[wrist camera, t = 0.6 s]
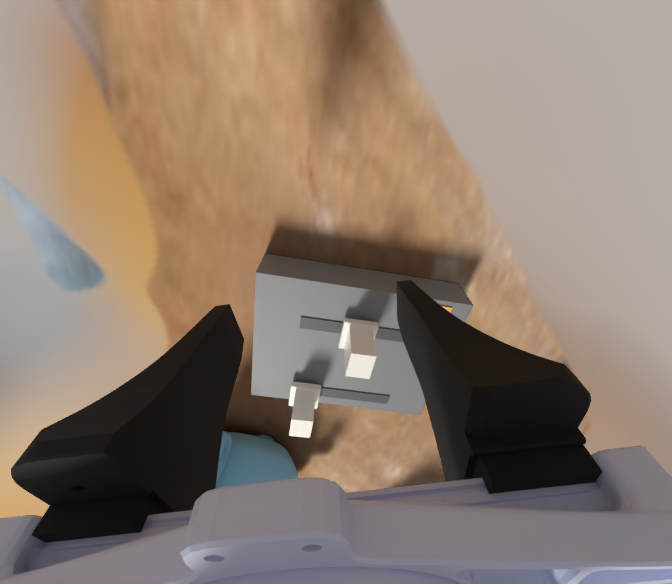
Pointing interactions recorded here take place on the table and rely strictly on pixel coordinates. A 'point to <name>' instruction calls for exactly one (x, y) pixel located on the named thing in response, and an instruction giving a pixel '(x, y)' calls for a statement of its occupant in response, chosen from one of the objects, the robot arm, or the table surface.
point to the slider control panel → (336, 332)
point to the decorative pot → (252, 460)
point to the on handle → (303, 407)
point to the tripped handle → (358, 347)
